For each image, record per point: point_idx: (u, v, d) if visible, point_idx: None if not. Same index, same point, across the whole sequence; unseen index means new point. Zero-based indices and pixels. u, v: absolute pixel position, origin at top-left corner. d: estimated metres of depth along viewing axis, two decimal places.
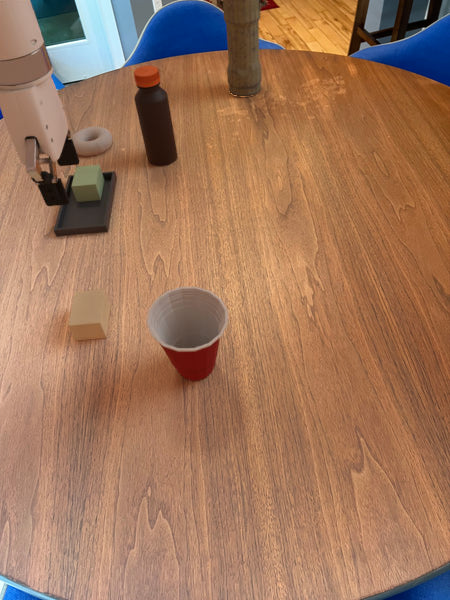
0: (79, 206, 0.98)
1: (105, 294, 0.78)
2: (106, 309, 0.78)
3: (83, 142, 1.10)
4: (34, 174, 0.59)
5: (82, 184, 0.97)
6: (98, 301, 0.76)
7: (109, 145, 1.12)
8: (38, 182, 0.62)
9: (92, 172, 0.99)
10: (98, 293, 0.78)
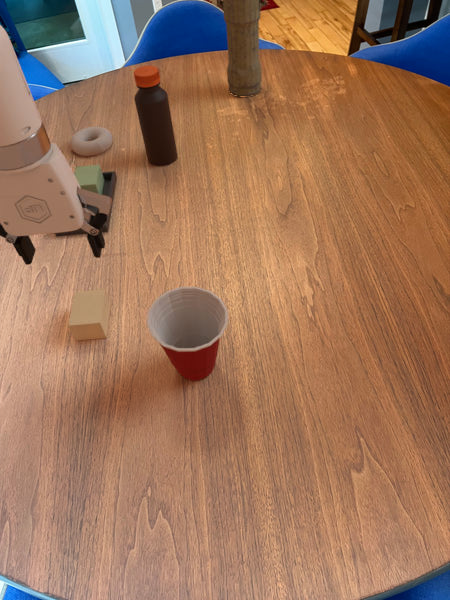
0: None
1: (105, 294, 0.78)
2: (106, 309, 0.78)
3: (83, 142, 1.10)
4: None
5: (82, 184, 0.97)
6: (98, 301, 0.76)
7: (109, 145, 1.12)
8: None
9: (92, 172, 0.99)
10: (98, 293, 0.78)
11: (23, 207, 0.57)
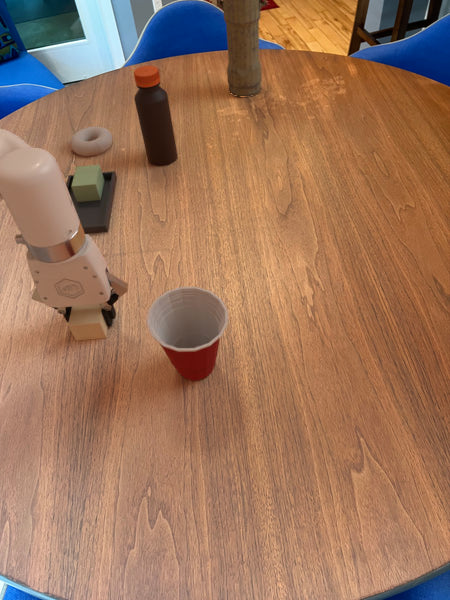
0: (79, 206, 0.98)
1: None
2: None
3: (83, 142, 1.10)
4: None
5: (82, 184, 0.97)
6: None
7: (109, 145, 1.12)
8: (115, 300, 0.74)
9: (92, 172, 0.99)
10: None
11: (61, 287, 0.68)
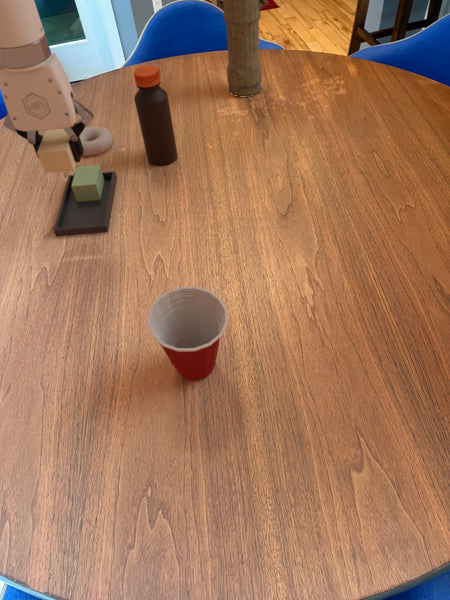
0: (79, 206, 0.98)
1: None
2: None
3: (83, 142, 1.10)
4: None
5: (82, 184, 0.97)
6: (66, 136, 0.82)
7: (109, 145, 1.12)
8: (82, 131, 0.80)
9: (92, 172, 0.99)
10: None
11: (28, 104, 0.74)
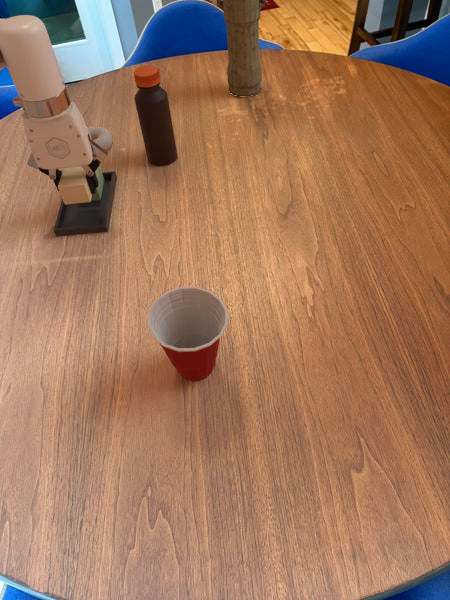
0: (79, 206, 0.98)
1: None
2: None
3: None
4: None
5: None
6: (83, 171, 0.91)
7: (109, 145, 1.12)
8: (97, 167, 0.89)
9: None
10: None
11: (51, 146, 0.83)
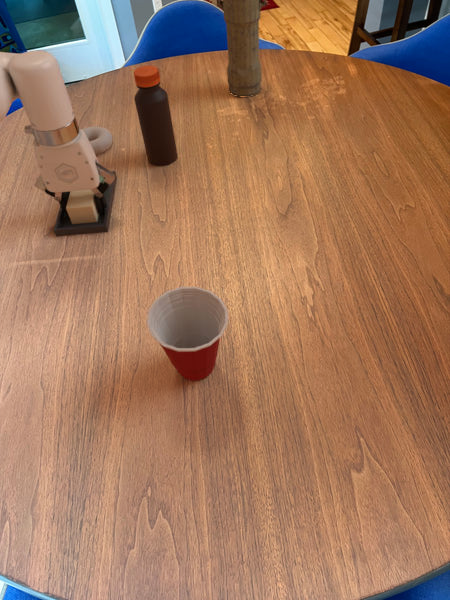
0: None
1: None
2: None
3: None
4: None
5: None
6: (90, 192, 0.95)
7: (109, 145, 1.12)
8: (106, 189, 0.93)
9: None
10: None
11: (60, 171, 0.87)
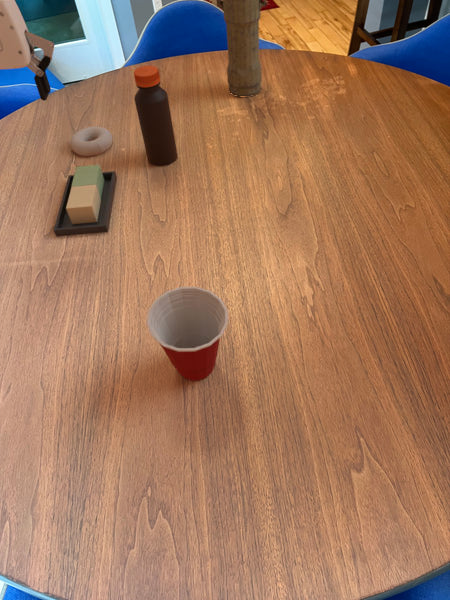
0: None
1: (96, 188, 0.96)
2: (97, 200, 0.96)
3: (83, 142, 1.10)
4: (52, 51, 0.76)
5: (82, 184, 0.97)
6: (90, 192, 0.95)
7: (109, 145, 1.12)
8: (47, 66, 0.78)
9: (92, 172, 0.99)
10: (90, 187, 0.96)
11: None
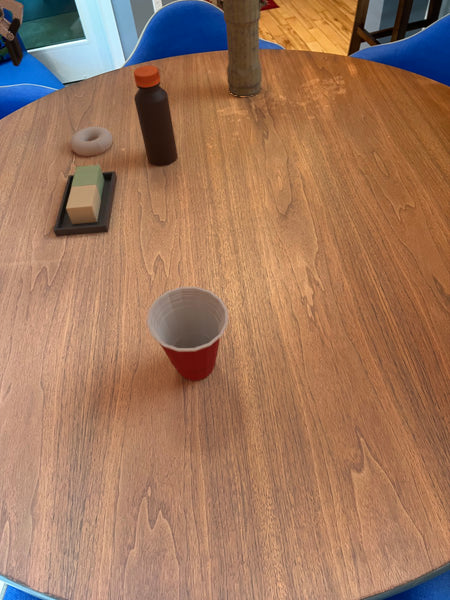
0: None
1: (96, 188, 0.96)
2: (97, 200, 0.96)
3: (83, 142, 1.10)
4: (22, 13, 0.74)
5: (82, 184, 0.97)
6: (90, 192, 0.95)
7: (109, 145, 1.12)
8: (18, 29, 0.76)
9: (92, 172, 0.99)
10: (90, 187, 0.96)
11: None
